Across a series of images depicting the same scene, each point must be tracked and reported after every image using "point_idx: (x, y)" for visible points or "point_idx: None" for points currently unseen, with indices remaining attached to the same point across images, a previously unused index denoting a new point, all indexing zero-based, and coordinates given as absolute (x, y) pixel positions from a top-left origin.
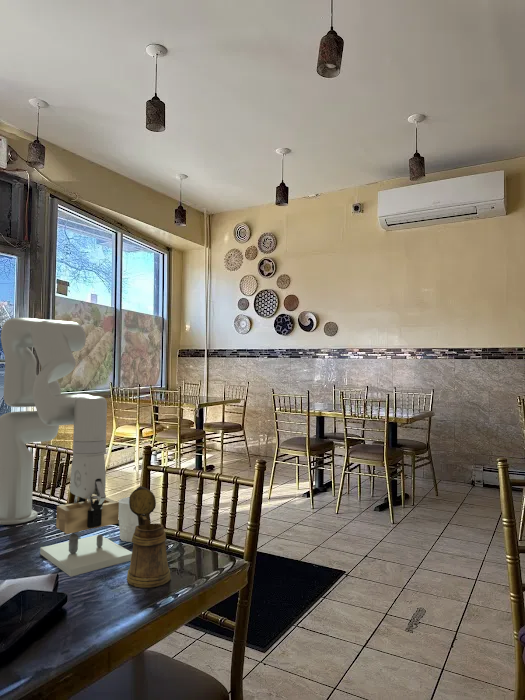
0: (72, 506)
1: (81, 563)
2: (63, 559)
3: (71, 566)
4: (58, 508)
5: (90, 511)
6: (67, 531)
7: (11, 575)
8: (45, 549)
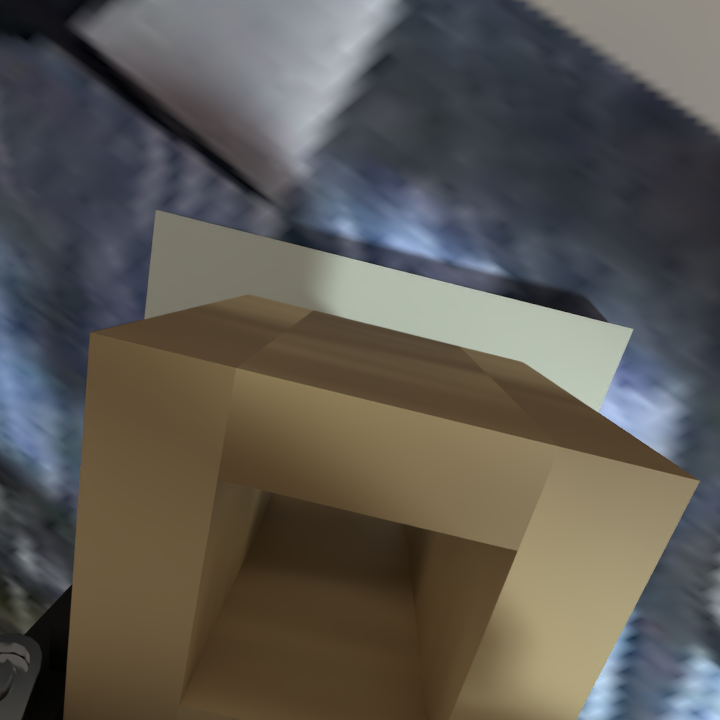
0: (462, 647)
1: (193, 306)
2: (330, 284)
3: (198, 243)
4: (585, 442)
5: (61, 638)
6: (238, 298)
7: (465, 6)
8: (574, 327)
